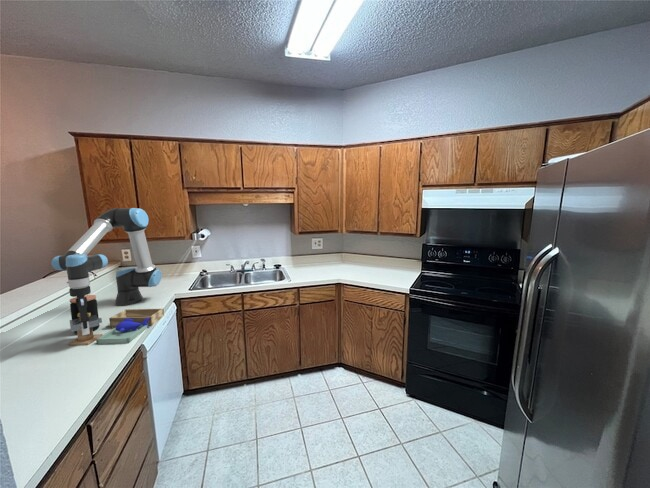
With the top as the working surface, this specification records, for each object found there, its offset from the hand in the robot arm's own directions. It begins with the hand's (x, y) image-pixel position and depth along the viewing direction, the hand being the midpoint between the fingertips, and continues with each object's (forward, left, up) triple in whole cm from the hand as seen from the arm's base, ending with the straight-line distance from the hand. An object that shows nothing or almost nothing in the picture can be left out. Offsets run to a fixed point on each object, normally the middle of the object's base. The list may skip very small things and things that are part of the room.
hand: (85, 331), depth 134 cm
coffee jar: (-12, -9, -5) cm, 16 cm away
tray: (-4, +16, -5) cm, 17 cm away
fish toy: (-8, +17, -4) cm, 20 cm away
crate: (-20, +13, -5) cm, 24 cm away
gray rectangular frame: (0, 0, +3) cm, 3 cm away
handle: (0, 0, -5) cm, 5 cm away
